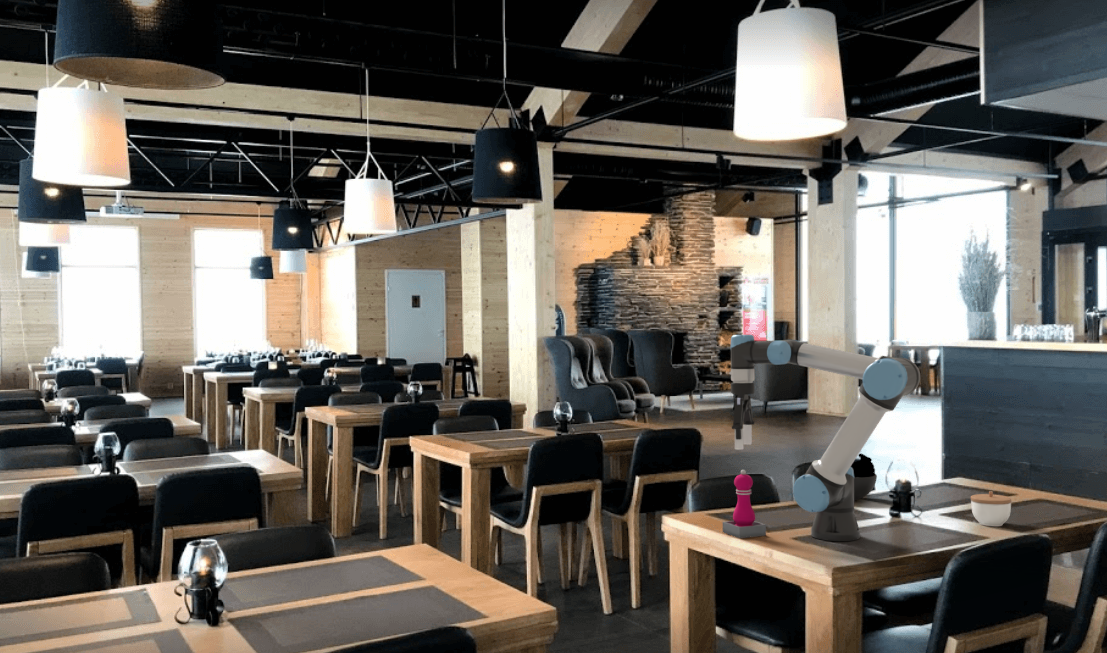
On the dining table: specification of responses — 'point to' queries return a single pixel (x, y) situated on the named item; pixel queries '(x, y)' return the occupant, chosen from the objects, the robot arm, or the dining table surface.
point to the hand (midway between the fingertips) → (743, 447)
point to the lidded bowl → (991, 508)
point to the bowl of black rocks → (863, 476)
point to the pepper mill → (743, 501)
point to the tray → (744, 529)
